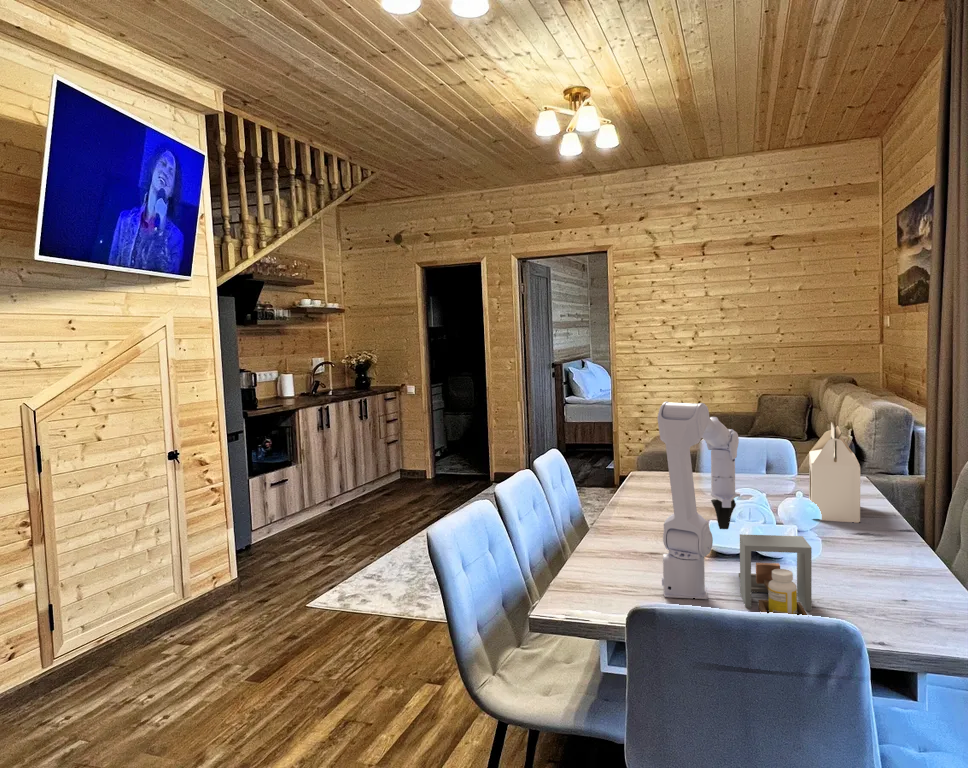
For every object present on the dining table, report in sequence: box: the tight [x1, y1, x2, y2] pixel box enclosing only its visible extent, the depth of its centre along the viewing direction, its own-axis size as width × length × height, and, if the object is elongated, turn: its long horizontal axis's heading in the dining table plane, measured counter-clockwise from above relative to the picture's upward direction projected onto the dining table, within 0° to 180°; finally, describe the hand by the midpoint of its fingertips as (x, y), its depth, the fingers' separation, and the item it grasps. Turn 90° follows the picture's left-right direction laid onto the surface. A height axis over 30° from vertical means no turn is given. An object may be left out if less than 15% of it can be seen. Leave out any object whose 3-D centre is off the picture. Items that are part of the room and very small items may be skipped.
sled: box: [755, 562, 808, 615], centre depth 148 cm, size 8×22×5 cm, turn 167°
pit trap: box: [738, 572, 768, 594], centre depth 160 cm, size 11×10×1 cm
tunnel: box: [739, 533, 813, 612], centre depth 150 cm, size 13×8×14 cm, turn 77°
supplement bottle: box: [767, 568, 798, 615], centre depth 142 cm, size 5×5×10 cm
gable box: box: [808, 421, 861, 524], centre depth 216 cm, size 22×13×28 cm, turn 156°
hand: (723, 528), depth 173 cm, fingers closed
